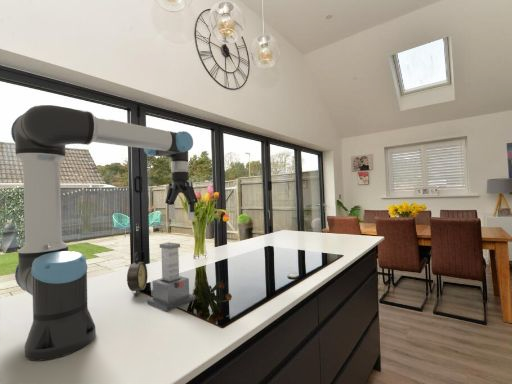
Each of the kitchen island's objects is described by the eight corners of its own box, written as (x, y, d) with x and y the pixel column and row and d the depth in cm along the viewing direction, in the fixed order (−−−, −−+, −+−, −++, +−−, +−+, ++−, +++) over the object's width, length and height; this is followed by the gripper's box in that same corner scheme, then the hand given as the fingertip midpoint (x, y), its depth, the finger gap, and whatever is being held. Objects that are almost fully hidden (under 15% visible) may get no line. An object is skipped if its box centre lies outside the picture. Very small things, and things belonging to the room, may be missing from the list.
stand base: (166, 311, 87) (166, 287, 87) (147, 303, 95) (146, 281, 95) (195, 299, 97) (194, 277, 97) (175, 293, 104) (174, 272, 104)
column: (171, 301, 92) (169, 246, 92) (160, 297, 96) (159, 244, 96) (181, 296, 96) (180, 243, 96) (171, 293, 100) (169, 242, 100)
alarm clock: (139, 297, 101) (138, 255, 101) (124, 298, 101) (123, 255, 101) (148, 287, 112) (147, 249, 112) (135, 288, 112) (134, 249, 112)
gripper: (205, 169, 113) (206, 219, 113) (170, 174, 128) (172, 217, 128) (191, 168, 107) (192, 221, 107) (156, 173, 122) (158, 219, 122)
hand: (181, 219), depth 117 cm, fingers open, 13 cm apart
